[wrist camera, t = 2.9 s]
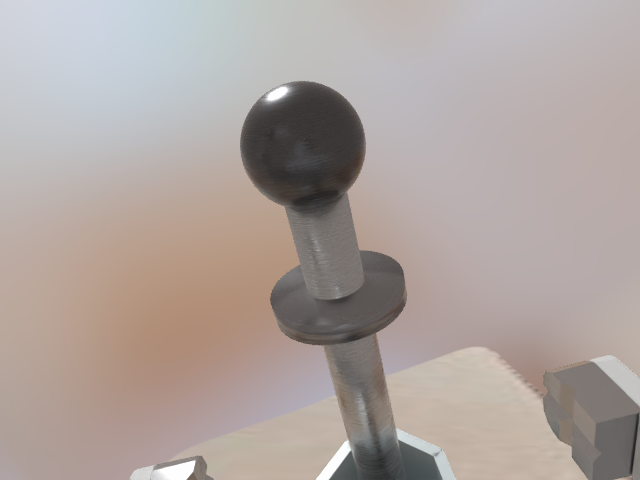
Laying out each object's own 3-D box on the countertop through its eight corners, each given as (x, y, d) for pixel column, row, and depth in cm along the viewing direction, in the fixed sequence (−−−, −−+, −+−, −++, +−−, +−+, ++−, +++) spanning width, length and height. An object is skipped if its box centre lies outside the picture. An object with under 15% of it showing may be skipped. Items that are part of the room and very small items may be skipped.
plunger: (353, 590, 24) (194, 113, 13) (338, 488, 29) (217, 95, 19) (460, 563, 24) (388, 66, 13) (425, 467, 29) (353, 61, 19)
